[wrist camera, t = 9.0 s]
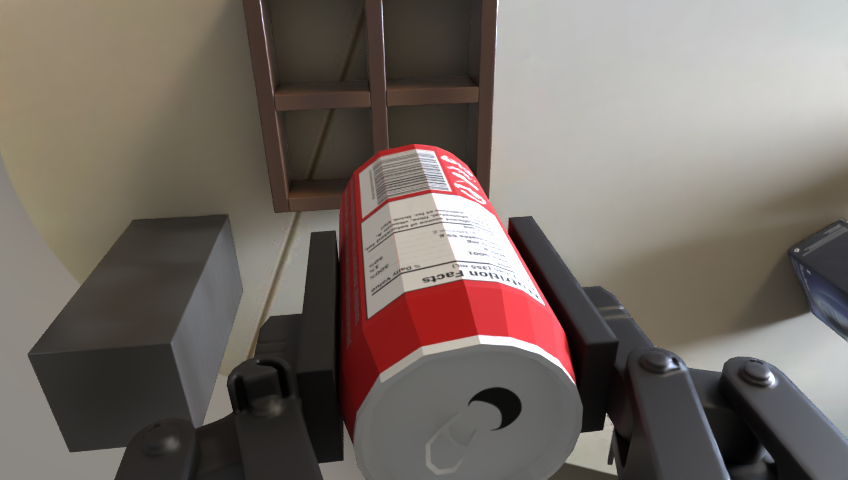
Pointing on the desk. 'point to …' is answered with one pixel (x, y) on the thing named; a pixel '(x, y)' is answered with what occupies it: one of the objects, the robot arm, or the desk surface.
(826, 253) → the small box
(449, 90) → the can rack
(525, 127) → the desk surface
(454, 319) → the soda can
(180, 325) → the block
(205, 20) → the desk surface
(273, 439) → the robot arm
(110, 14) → the desk surface
